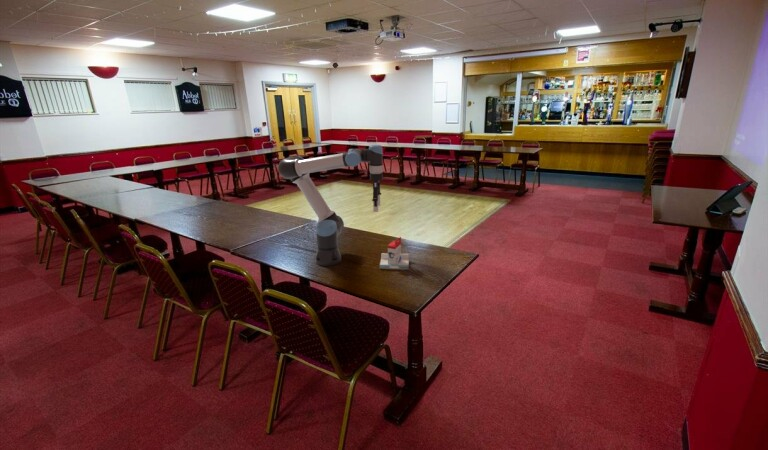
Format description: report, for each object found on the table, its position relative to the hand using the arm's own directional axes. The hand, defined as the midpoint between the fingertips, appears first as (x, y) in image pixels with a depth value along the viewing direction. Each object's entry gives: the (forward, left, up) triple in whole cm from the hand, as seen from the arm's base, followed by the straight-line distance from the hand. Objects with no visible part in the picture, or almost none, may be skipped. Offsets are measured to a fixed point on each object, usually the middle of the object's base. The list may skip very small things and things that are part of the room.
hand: (376, 208), depth 213 cm
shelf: (+11, -16, -29) cm, 35 cm away
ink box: (+11, -16, -27) cm, 34 cm away
